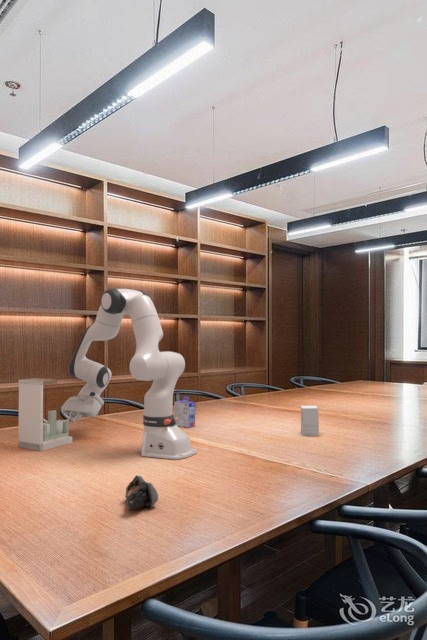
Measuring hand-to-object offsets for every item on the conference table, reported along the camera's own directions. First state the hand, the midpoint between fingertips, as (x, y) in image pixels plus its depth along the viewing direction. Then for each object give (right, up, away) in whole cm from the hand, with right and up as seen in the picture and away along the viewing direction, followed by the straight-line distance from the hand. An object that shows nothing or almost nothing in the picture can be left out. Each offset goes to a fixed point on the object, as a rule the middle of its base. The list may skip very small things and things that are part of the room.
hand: (70, 421), depth 204 cm
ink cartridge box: (+49, -8, +26) cm, 56 cm away
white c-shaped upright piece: (-7, -7, -11) cm, 15 cm away
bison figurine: (+42, -5, -80) cm, 90 cm away
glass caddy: (-5, -5, -9) cm, 11 cm away
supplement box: (+107, -7, +6) cm, 107 cm away
